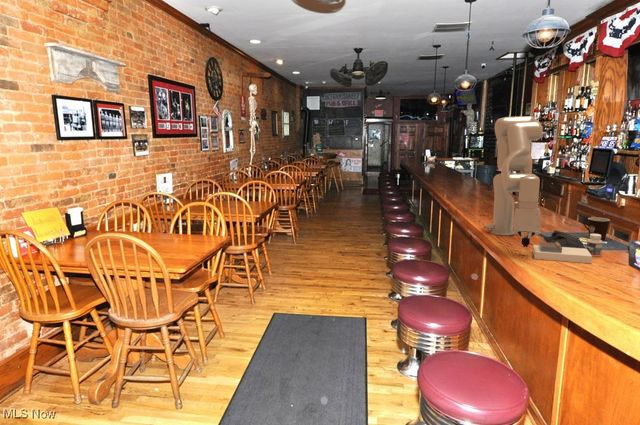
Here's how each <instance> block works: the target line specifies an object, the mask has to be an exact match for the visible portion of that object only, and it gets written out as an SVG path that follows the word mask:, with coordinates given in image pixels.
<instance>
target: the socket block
mask: <svg viewBox="0 0 640 425" xmlns="http://www.w3.org/2000/svg"><path fill="white" fill-rule="evenodd" d="M532 254H533V258H534V259H535V260H542V259H544V261H555V262H568V263H582V264H592V263H593V262H592V261H593V256H592V255H591V254H590V253H589V251H588V250H587V249H583V248H569V247H562V253H558V252H545V251H541V250H540V247H539V245H537V244H533V245H532Z"/></svg>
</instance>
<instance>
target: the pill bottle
mask: <svg viewBox="0 0 640 425" xmlns="http://www.w3.org/2000/svg"><path fill="white" fill-rule="evenodd" d="M600 239H601V235H600V234H590V239H589V238H588V239H587V241H586V248H587V250H588V251H589V253H590V254H591V255H592V257H596V258H597V257H601V255H602V252H603V251H602V250H603V241H602V240H600Z"/></svg>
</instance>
